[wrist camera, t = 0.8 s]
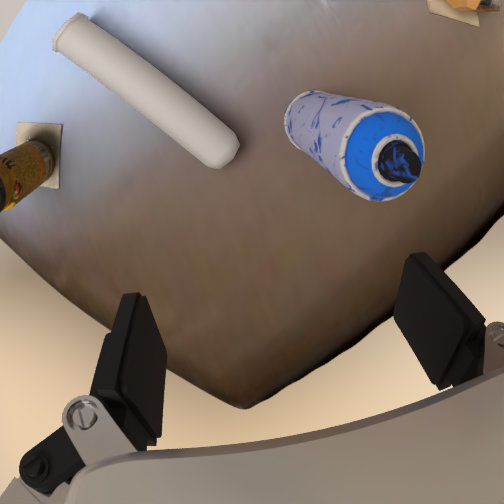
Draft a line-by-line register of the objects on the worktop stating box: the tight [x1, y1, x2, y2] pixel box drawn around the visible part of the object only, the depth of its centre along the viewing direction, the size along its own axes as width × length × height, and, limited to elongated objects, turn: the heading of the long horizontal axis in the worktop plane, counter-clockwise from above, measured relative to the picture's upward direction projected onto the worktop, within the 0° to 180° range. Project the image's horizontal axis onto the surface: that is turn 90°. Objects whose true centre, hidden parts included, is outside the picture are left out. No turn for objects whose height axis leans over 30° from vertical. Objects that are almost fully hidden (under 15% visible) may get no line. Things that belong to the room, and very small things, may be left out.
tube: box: [53, 12, 240, 169], centre depth 29 cm, size 5×5×25 cm
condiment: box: [0, 123, 61, 212], centre depth 27 cm, size 7×8×12 cm
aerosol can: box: [284, 90, 425, 202], centre depth 26 cm, size 8×8×20 cm
